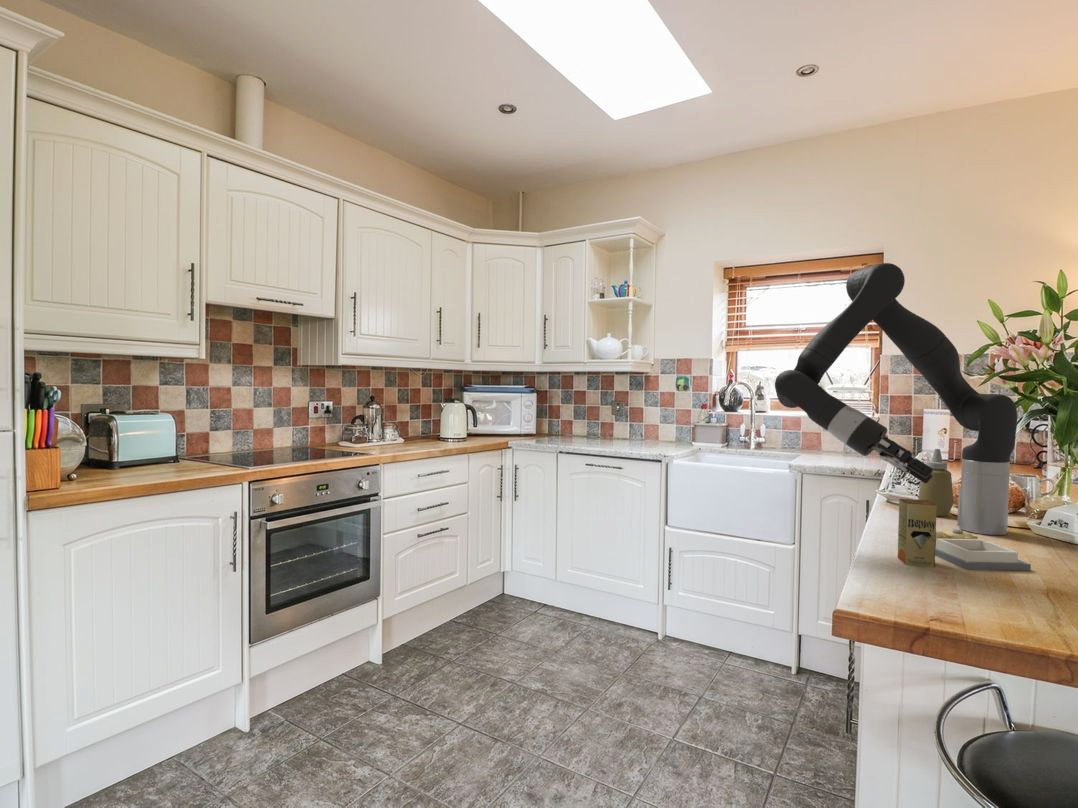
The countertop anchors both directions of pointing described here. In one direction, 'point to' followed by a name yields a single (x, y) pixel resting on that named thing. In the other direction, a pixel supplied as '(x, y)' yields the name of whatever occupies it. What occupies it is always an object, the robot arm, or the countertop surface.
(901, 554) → the shoe polish box
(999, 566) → the gear board
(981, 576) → the countertop surface
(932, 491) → the squeeze bottle
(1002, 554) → the square socket
